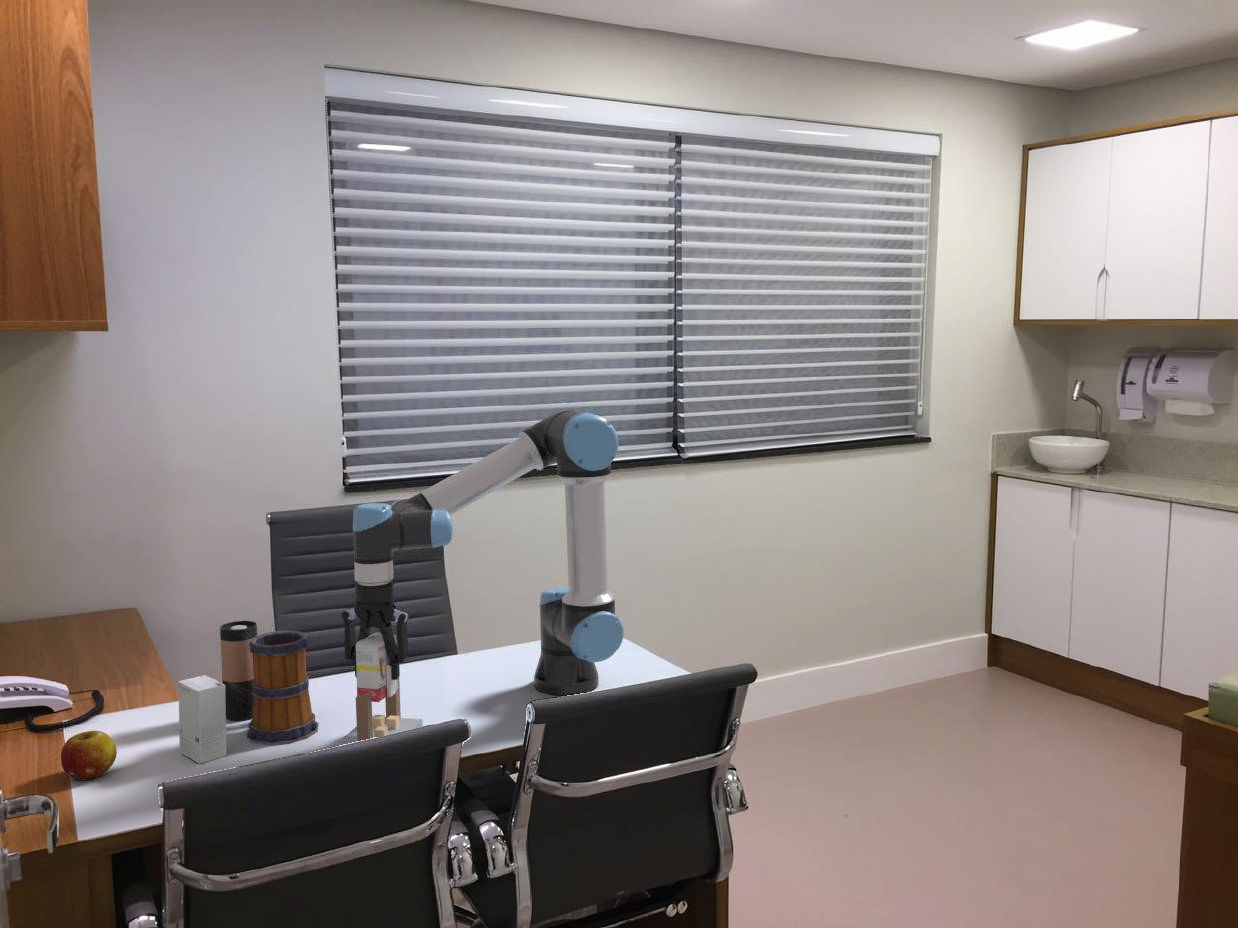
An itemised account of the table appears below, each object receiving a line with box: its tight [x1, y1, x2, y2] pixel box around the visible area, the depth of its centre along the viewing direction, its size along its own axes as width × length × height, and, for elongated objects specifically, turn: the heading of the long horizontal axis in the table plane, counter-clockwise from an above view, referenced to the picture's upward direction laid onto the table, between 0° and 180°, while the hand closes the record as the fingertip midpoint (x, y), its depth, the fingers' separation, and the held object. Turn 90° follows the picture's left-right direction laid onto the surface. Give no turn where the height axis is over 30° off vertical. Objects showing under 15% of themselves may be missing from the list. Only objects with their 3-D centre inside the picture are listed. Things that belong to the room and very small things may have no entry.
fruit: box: [60, 730, 118, 781], centre depth 191 cm, size 10×9×8 cm
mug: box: [245, 630, 319, 746], centre depth 213 cm, size 19×14×20 cm
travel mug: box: [219, 620, 258, 722], centre depth 220 cm, size 8×8×20 cm
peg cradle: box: [334, 677, 423, 747], centre depth 207 cm, size 12×16×12 cm
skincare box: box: [177, 674, 227, 764], centre depth 199 cm, size 8×6×15 cm
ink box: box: [356, 631, 398, 703], centre depth 205 cm, size 9×5×12 cm, turn 164°
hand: (377, 693), depth 206 cm, fingers closed on ink box, 5 cm apart
